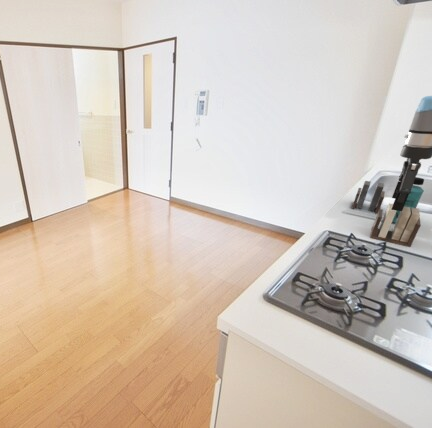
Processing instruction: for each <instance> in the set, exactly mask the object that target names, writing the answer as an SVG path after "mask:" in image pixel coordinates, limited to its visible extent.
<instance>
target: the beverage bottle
mask: <svg viewBox="0 0 432 428" xmlns="http://www.w3.org/2000/svg"><path fill="white" fill-rule="evenodd" d="M424 182H425V179H424V178H422V177H417V176H416V177H415V180H414V183H413V186H412V189H411V193H410V194H409V195H408V198H407V200H406V203H405V205H404V206H405V207H410V210H411V208H417V207H418V204H419V203H420V200H421V198H422V195H423V193H425V190H424V189H423V188H422V187H421V186H423V185H424ZM406 190H408V189H406ZM399 214H400V211H396V214H395V216H394V218H393V221H392V223H394V224H395V223H396V221H397V218H398V216H399Z"/></svg>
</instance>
